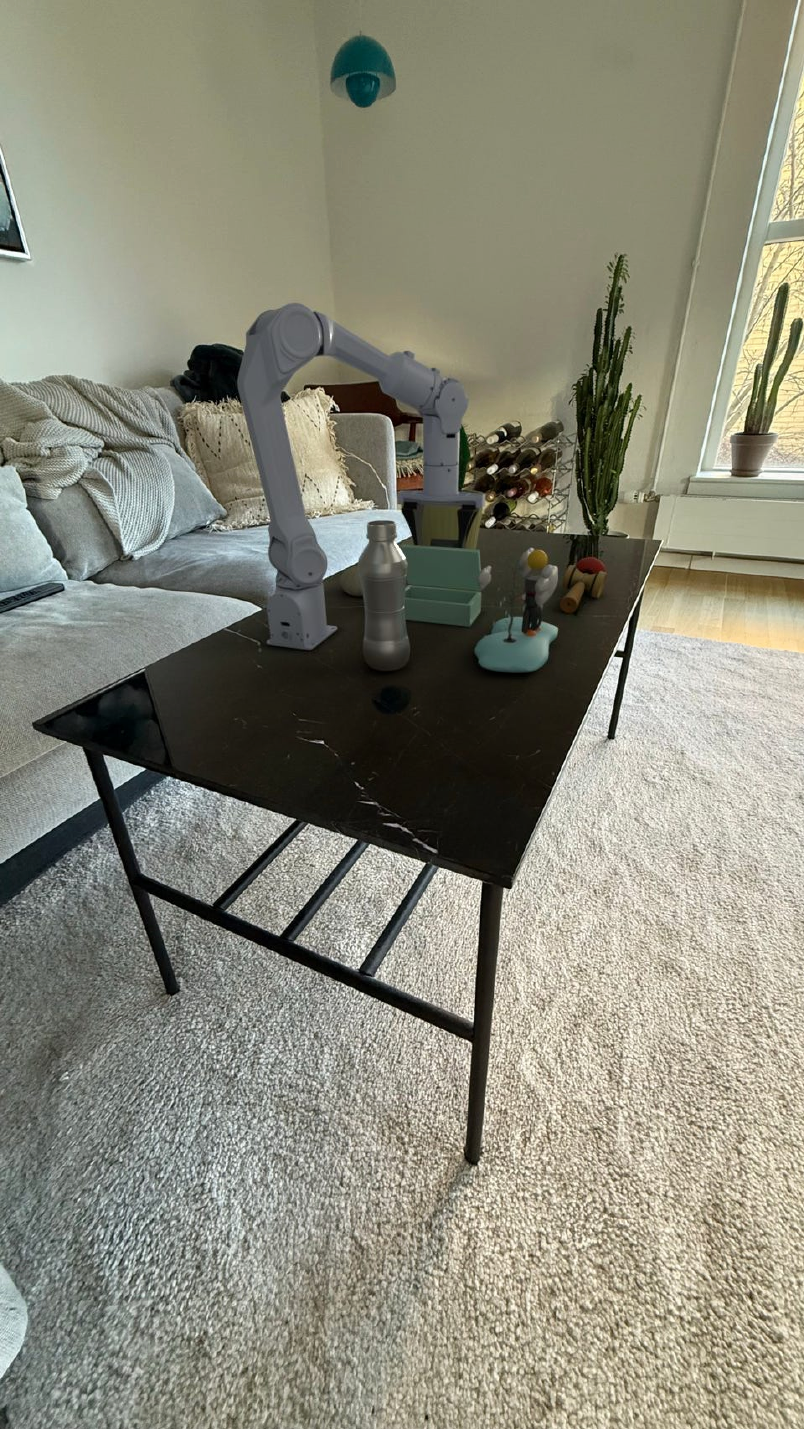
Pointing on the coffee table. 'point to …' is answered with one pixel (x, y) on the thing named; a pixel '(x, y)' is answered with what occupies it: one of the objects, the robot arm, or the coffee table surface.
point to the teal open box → (441, 605)
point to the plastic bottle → (384, 598)
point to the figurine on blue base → (521, 621)
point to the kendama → (582, 582)
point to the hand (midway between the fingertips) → (439, 549)
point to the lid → (442, 565)
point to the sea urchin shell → (351, 582)
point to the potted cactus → (451, 507)
